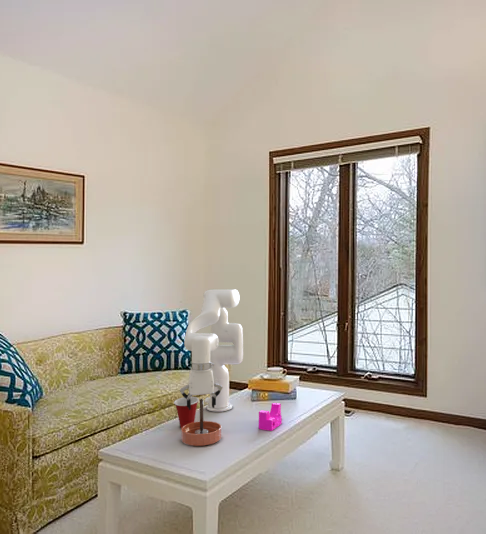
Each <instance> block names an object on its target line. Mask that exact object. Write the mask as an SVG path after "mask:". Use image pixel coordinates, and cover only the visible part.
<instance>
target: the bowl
mask: <svg viewBox="0 0 486 534" xmlns="http://www.w3.org/2000/svg"><path fill="white" fill-rule="evenodd" d="M199 429H200V420H198V421H194V422H192V423H189V424H186V425H184V426H183V427H182V428H181V427H180V441H181V442H182V443H183V444H186V445H187V446H192V447H193V446H194V447H203V446H210V445H213V444H215V443H217V442H219V441H220V440H221V439H222V424H220V423H219V422H216V421H211V420H203V429H207V430H208V431H209V433H205V434H195V431H196V430H199Z"/></svg>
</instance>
